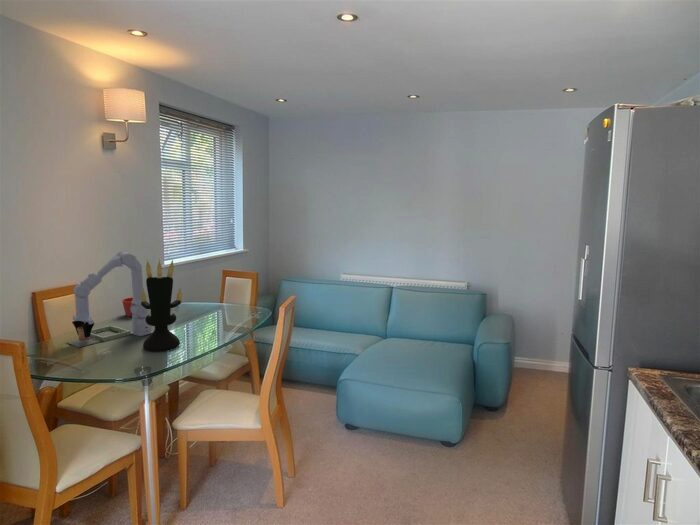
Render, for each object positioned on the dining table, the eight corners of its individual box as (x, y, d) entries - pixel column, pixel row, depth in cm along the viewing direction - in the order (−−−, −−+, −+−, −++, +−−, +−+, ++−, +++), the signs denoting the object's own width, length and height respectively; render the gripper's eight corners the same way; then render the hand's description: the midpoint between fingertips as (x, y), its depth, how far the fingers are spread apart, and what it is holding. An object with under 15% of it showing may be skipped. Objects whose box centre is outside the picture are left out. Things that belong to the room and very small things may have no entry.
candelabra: (182, 340, 247) (181, 252, 241) (184, 354, 227) (182, 259, 220) (142, 343, 241) (139, 253, 234) (140, 357, 220) (137, 259, 213)
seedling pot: (93, 338, 239) (93, 326, 238) (82, 342, 234) (81, 330, 233) (86, 336, 242) (85, 324, 241) (75, 339, 237) (74, 327, 236)
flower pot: (135, 318, 285) (134, 301, 284) (119, 316, 287) (118, 300, 286) (146, 313, 295) (146, 298, 294) (130, 312, 298) (129, 296, 296)
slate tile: (101, 342, 240) (101, 341, 240) (79, 347, 231) (79, 346, 231) (88, 337, 246) (88, 337, 245) (66, 343, 236) (66, 342, 236)
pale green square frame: (130, 334, 253) (130, 330, 253) (103, 341, 241) (103, 337, 240) (111, 328, 262) (111, 325, 262) (83, 335, 249) (83, 331, 249)
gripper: (65, 308, 236) (67, 335, 238) (82, 312, 229) (84, 340, 230) (80, 305, 242) (81, 331, 244) (97, 310, 234) (98, 337, 236)
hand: (83, 335), depth 238 cm, fingers closed on seedling pot, 6 cm apart
